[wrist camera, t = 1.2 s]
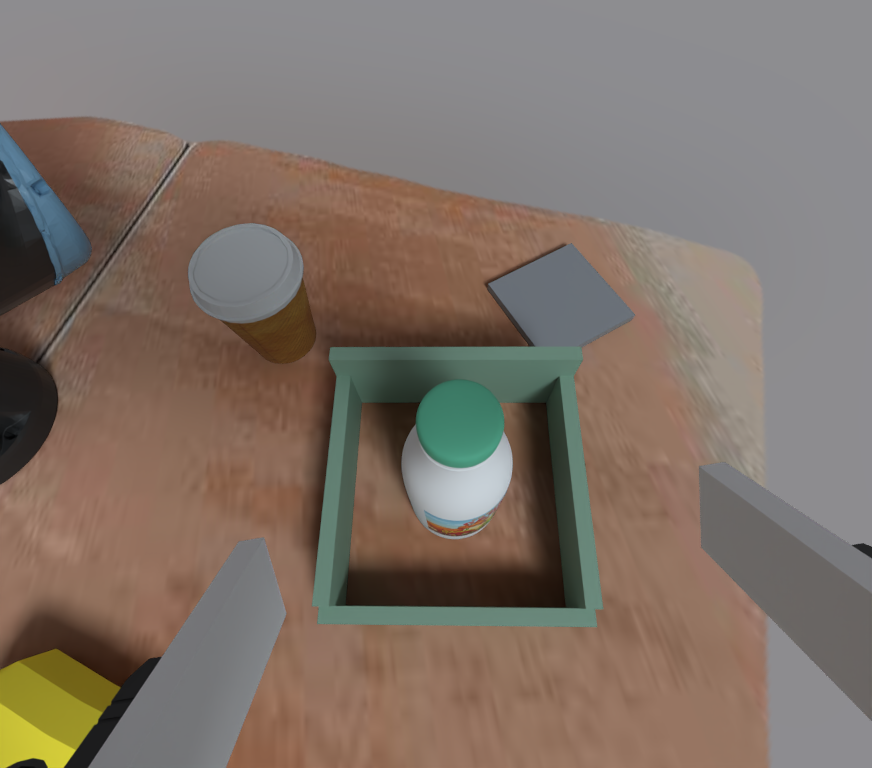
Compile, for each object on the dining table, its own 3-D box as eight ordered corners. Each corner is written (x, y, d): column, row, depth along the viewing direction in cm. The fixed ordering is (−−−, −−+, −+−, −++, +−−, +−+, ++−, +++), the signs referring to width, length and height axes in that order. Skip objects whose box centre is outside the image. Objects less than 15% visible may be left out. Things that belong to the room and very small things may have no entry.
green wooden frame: (582, 624, 37) (620, 631, 29) (329, 621, 38) (297, 628, 30) (557, 391, 46) (581, 346, 38) (350, 391, 46) (330, 347, 38)
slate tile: (487, 289, 51) (488, 283, 50) (569, 249, 53) (571, 243, 52) (545, 366, 47) (547, 362, 46) (631, 320, 49) (635, 314, 48)
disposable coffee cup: (282, 286, 52) (238, 203, 41) (349, 325, 50) (322, 249, 39) (221, 349, 49) (156, 277, 38) (291, 394, 46) (243, 332, 35)
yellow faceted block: (42, 630, 38) (-29, 737, 35) (-34, 637, 32) (-128, 766, 29) (228, 733, 35) (167, 859, 32) (182, 762, 29) (102, 920, 26)
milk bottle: (397, 520, 41) (359, 460, 23) (429, 442, 44) (418, 332, 26) (481, 554, 40) (510, 517, 22) (508, 470, 43) (554, 376, 25)
